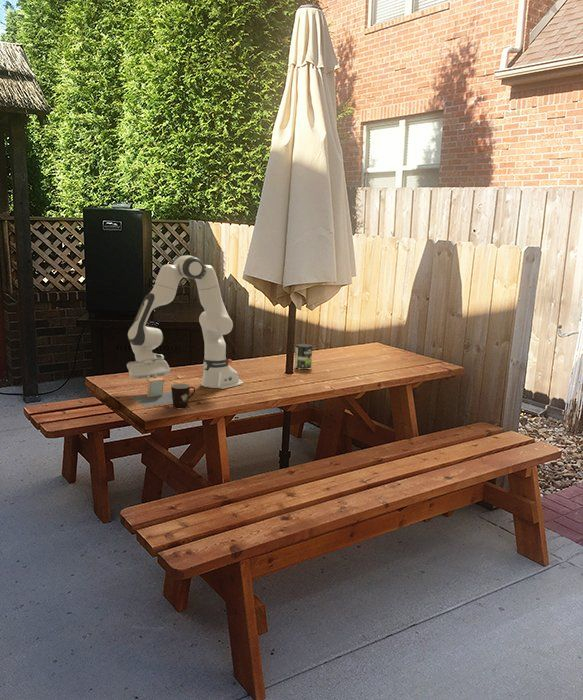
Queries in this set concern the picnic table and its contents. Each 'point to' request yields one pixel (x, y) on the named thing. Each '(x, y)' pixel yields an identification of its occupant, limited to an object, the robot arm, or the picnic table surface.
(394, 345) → the picnic table surface
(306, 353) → the coffee can
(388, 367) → the picnic table surface
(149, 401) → the mat
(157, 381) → the light orange block
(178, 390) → the coffee mug
